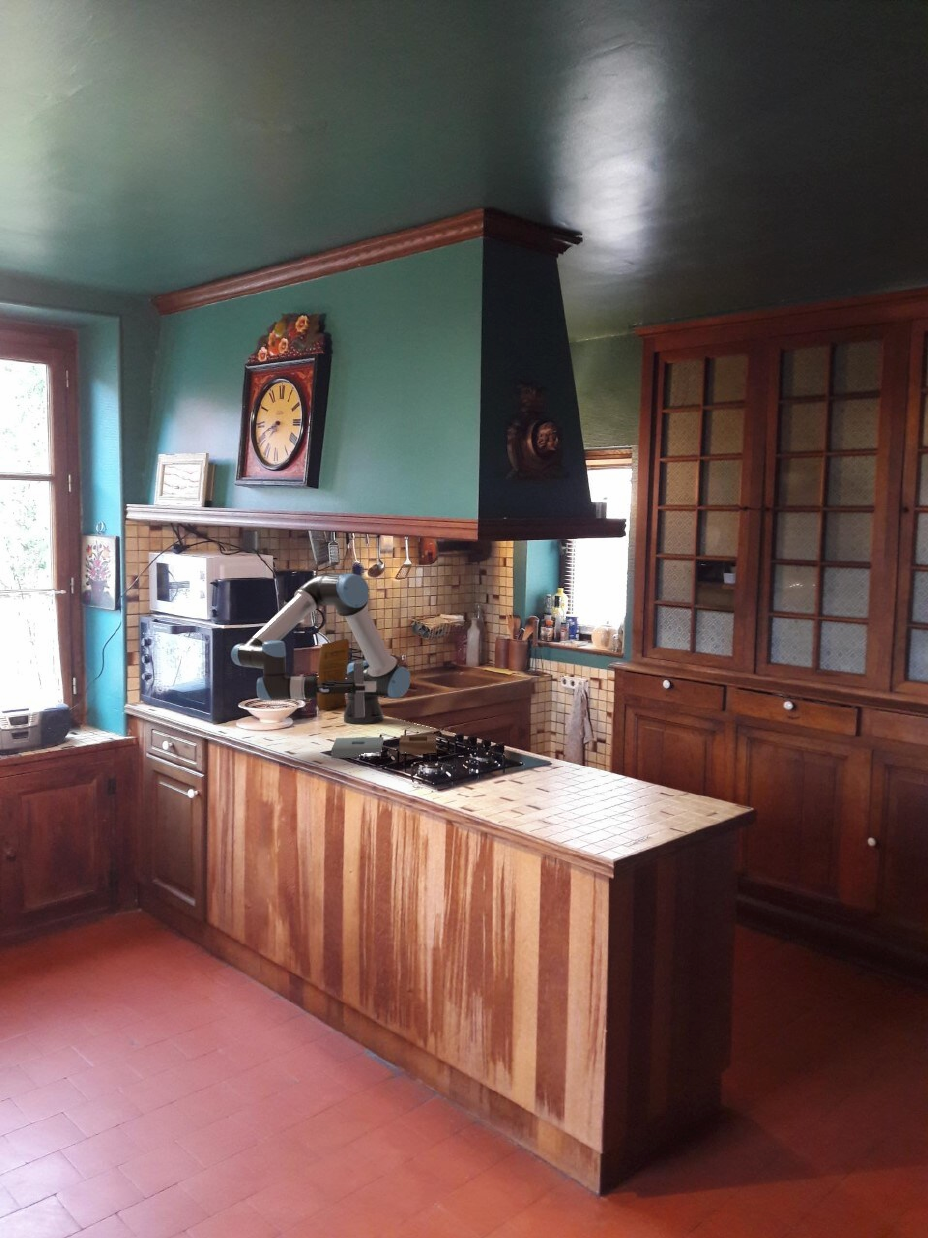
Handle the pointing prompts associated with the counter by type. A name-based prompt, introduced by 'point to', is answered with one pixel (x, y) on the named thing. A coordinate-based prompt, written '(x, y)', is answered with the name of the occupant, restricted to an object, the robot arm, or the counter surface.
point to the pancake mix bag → (332, 671)
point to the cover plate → (356, 746)
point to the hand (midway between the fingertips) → (375, 686)
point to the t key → (359, 695)
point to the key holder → (418, 744)
